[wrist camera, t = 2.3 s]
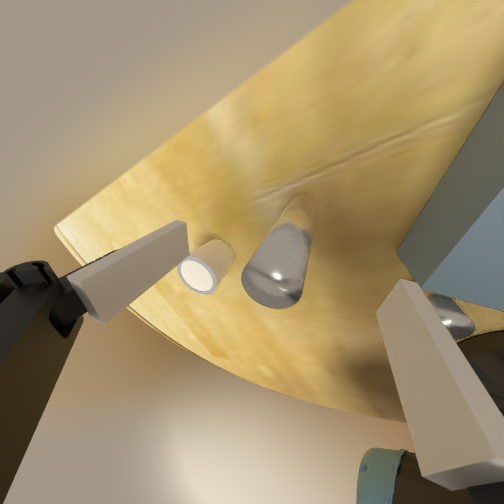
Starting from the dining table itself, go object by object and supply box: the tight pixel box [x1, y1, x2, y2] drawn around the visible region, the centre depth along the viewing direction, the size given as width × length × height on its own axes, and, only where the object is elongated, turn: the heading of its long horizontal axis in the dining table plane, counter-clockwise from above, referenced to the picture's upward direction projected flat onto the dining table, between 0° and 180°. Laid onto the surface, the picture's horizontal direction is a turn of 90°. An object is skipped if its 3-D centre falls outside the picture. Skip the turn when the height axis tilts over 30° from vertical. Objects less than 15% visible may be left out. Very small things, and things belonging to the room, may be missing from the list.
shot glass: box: [177, 239, 234, 295], centre depth 29 cm, size 7×7×7 cm
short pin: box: [412, 280, 475, 339], centre depth 20 cm, size 4×4×6 cm
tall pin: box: [242, 193, 318, 309], centre depth 17 cm, size 4×4×16 cm
